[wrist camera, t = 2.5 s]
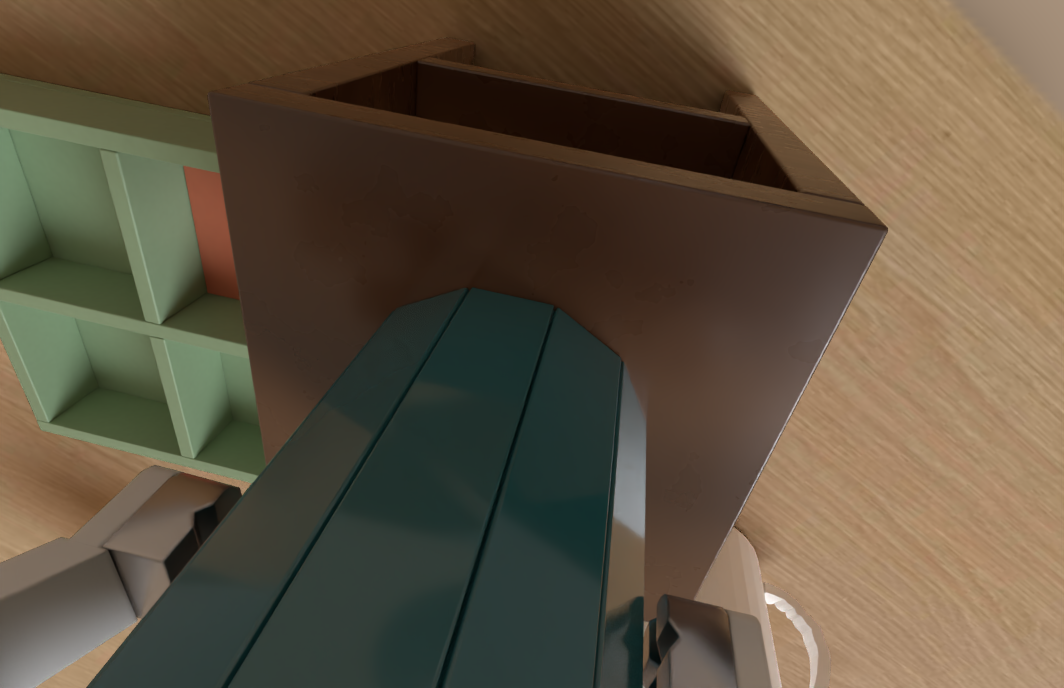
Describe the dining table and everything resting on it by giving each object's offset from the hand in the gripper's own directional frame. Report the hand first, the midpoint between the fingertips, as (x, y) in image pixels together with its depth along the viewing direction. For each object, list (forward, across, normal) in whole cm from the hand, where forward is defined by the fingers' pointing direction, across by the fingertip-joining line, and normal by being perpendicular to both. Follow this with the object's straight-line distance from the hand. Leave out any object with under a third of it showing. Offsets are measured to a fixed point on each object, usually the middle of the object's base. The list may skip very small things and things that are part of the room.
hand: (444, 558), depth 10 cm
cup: (+4, 0, 0) cm, 4 cm away
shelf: (+18, 0, 0) cm, 18 cm away
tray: (+18, +18, +8) cm, 27 cm away
